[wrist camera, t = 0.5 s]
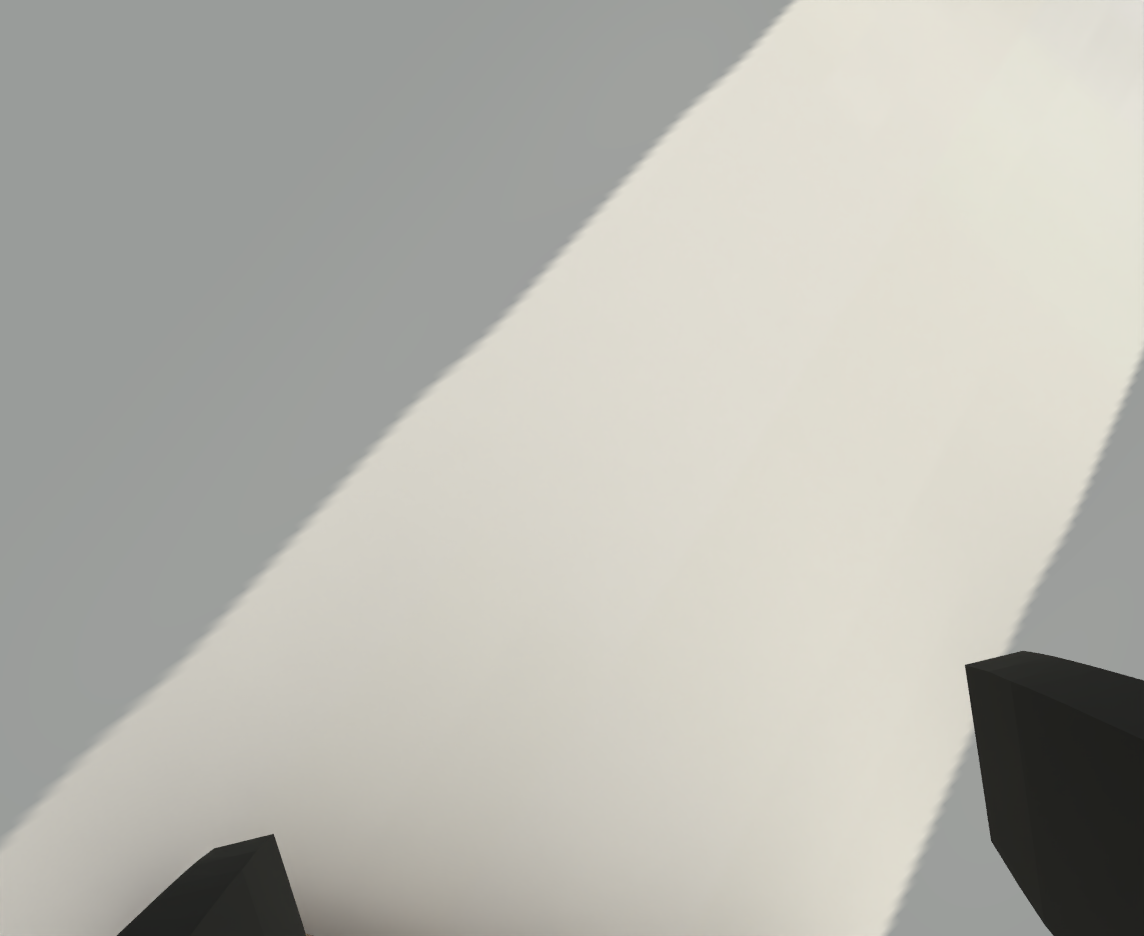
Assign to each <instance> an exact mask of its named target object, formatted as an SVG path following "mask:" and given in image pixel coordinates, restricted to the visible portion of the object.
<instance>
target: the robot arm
mask: <svg viewBox="0 0 1144 936" xmlns="http://www.w3.org/2000/svg"><path fill="white" fill-rule="evenodd" d="M965 668H966V675H967V682H968V688H969V695H970V702H971V708H972V715H973V722H974V729H975V735H976V742H977V749H978V755H979V762H980V768H981V775H982V782H983V789H984V795H985V802H986V809H987V816H988V822H989V828H990V836H991V841H992V843H993V844H994V846H995V848H996V849H997V851H998V852H999V854H1000V855H1001V857H1002V859H1003V861H1004V862H1005V864H1006V865H1007V867H1008V869H1009V870H1010V872H1011V873H1012V875H1013V877H1014V878H1015V880H1016V882H1017V883H1018V885H1019V887H1020V888H1021V890H1022V891H1023V893H1024V894H1025V896H1026V897H1027V899H1028V900H1029V902H1030V903H1031V905H1032V906H1033V908H1034V909H1035V911H1036V912H1037V914H1038V915H1039V917H1040V918H1041V920H1042V921H1043V923H1044V924H1045V926H1046V927H1047V928H1048V929H1049V931H1050V932H1051V933H1052V934H1053V935H1054V936H1144V681H1143V680H1140V679H1136V678H1133V677H1129V676H1125V675H1122V674H1118V673H1115V672H1111V671H1107V670H1104V669H1101V668H1097V667H1093V666H1090V665H1086V664H1082V663H1078V662H1074V661H1070V660H1066V659H1062V658H1058V657H1054V656H1049V655H1044V654H1039V653H1033V652H1026V651H1021V652H1017V653H1013V654H1008V655H1004V656H1000V657H996V658H992V659H988V660H984V661H980V662H976V663H971V664H967V665H965ZM117 936H306V933H305V930H304V927H303V924H302V921H301V918H300V915H299V912H298V908H297V905H296V902H295V899H294V896H293V893H292V890H291V887H290V883H289V880H288V877H287V874H286V871H285V868H284V865H283V862H282V858H281V855H280V852H279V849H278V846H277V843H276V840H275V837H274V834H272V835H268V836H263V837H259V838H255V839H251V840H247V841H243V842H239V843H235V844H231V845H227V846H222V847H218V848H214V849H213V850H212V851H210V852H209V853H208V854H206V855H205V856H204V857H202V858H201V859H200V860H198V861H197V862H196V863H195V864H194V865H192V866H191V867H190V868H189V869H188V870H187V871H186V872H184V873H183V874H182V875H181V876H180V877H179V878H178V879H177V880H176V881H174V882H173V883H172V884H171V885H170V886H169V887H168V888H167V889H166V890H165V891H164V892H163V893H161V894H160V895H159V896H158V897H157V898H156V899H155V900H154V901H153V902H152V903H151V904H150V905H149V906H148V907H147V908H146V909H144V910H143V911H142V912H141V913H140V914H139V915H138V916H137V917H136V918H135V919H134V920H133V921H132V922H131V923H130V924H129V925H128V926H127V927H125V928H124V929H123V930H122V931H121V932H120V933H119V934H118V935H117Z"/></svg>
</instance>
